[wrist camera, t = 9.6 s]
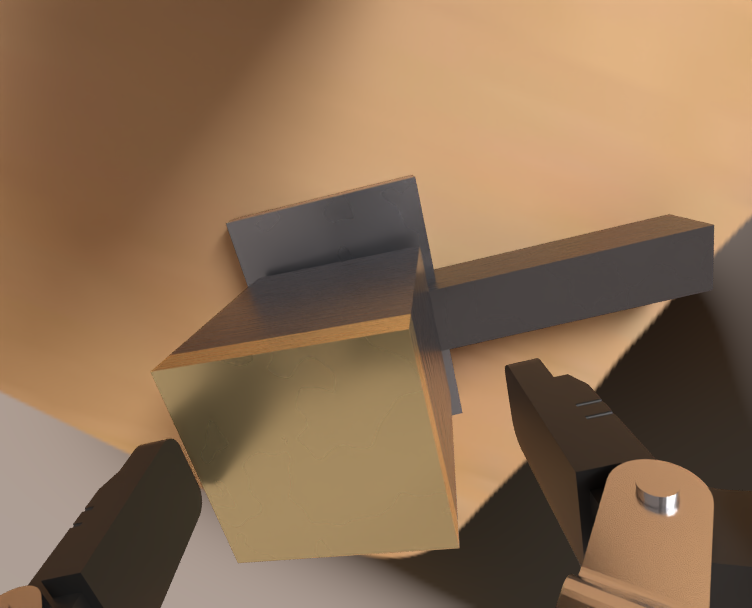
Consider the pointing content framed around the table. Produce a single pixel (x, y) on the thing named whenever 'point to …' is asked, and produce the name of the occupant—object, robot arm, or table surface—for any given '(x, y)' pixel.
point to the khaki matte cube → (321, 413)
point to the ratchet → (484, 263)
